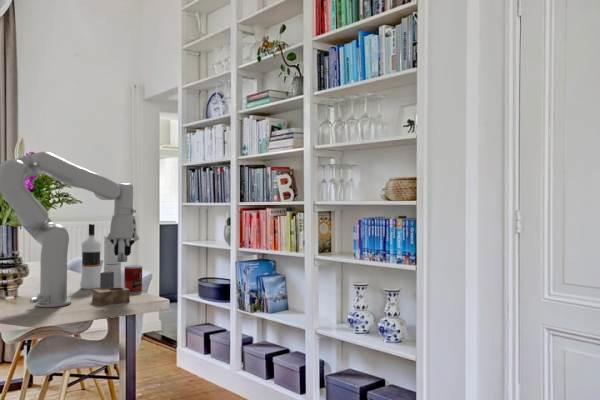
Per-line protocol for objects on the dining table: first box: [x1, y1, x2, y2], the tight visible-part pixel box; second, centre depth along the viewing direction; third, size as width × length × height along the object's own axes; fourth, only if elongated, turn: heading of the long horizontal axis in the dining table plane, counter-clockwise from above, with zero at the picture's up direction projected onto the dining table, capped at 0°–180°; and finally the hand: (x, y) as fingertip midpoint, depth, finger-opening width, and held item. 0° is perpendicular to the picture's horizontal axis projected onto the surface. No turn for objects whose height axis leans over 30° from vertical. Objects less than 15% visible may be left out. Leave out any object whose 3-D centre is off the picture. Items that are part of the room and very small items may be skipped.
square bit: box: [99, 271, 114, 289], centre depth 228 cm, size 4×4×10 cm
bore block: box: [91, 286, 131, 306], centre depth 215 cm, size 12×9×5 cm
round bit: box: [117, 238, 128, 263], centre depth 225 cm, size 4×4×10 cm
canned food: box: [123, 264, 143, 292], centre depth 243 cm, size 8×8×11 cm
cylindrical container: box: [103, 235, 122, 287], centre depth 238 cm, size 7×7×25 cm
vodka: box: [79, 223, 102, 290], centre depth 247 cm, size 9×9×30 cm
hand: (122, 254), depth 225 cm, fingers closed on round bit, 4 cm apart
